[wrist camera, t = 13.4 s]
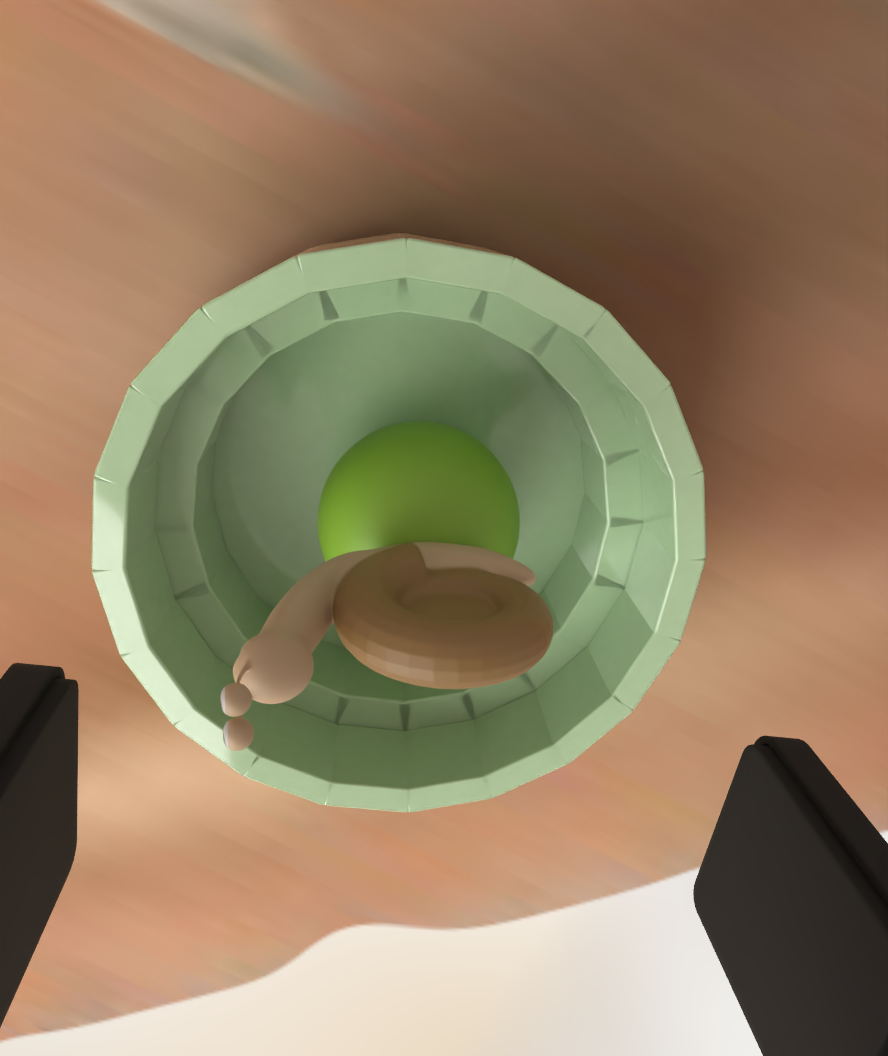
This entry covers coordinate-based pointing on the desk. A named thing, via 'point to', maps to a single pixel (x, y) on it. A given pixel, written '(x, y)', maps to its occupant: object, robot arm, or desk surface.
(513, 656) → the snail figurine
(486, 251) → the green round bowl
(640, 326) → the desk surface
